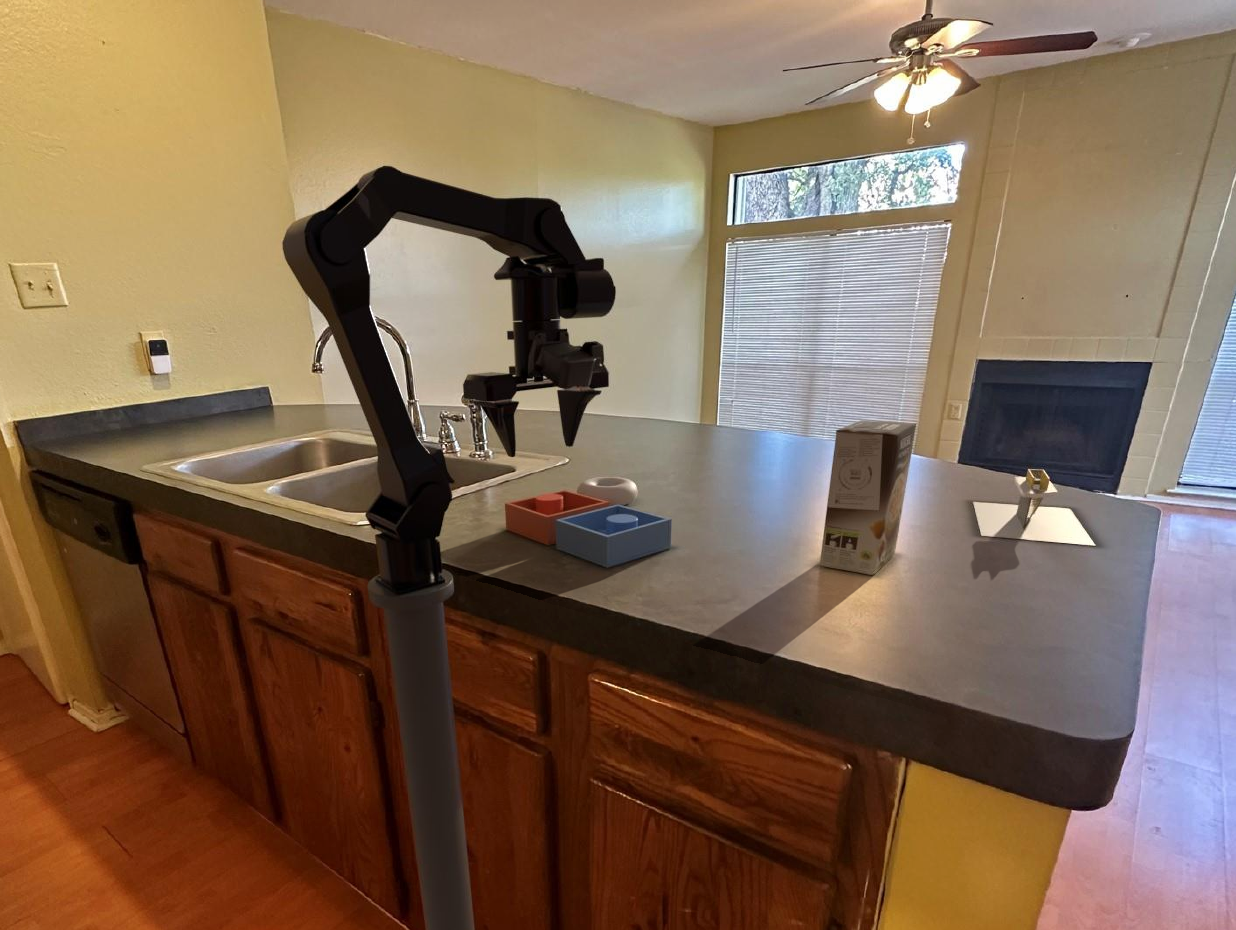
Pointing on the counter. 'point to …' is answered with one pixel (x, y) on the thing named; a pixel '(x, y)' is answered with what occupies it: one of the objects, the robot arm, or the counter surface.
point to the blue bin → (612, 536)
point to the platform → (1031, 516)
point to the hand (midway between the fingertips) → (541, 451)
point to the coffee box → (866, 494)
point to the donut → (609, 490)
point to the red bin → (542, 526)
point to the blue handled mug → (618, 523)
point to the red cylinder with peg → (549, 504)
